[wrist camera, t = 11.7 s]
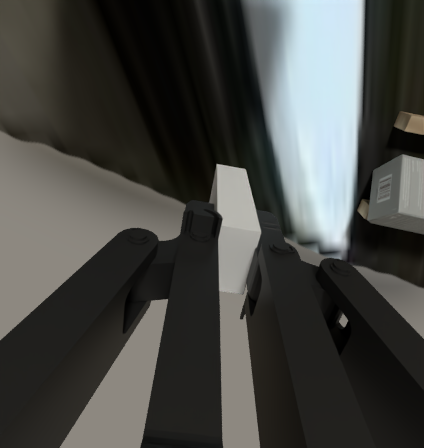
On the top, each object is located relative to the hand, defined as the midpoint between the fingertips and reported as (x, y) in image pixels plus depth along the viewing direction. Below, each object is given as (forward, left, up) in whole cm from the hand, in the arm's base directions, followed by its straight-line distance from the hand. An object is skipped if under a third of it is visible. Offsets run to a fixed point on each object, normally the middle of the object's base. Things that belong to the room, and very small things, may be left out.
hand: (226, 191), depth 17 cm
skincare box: (+6, +23, -26) cm, 35 cm away
